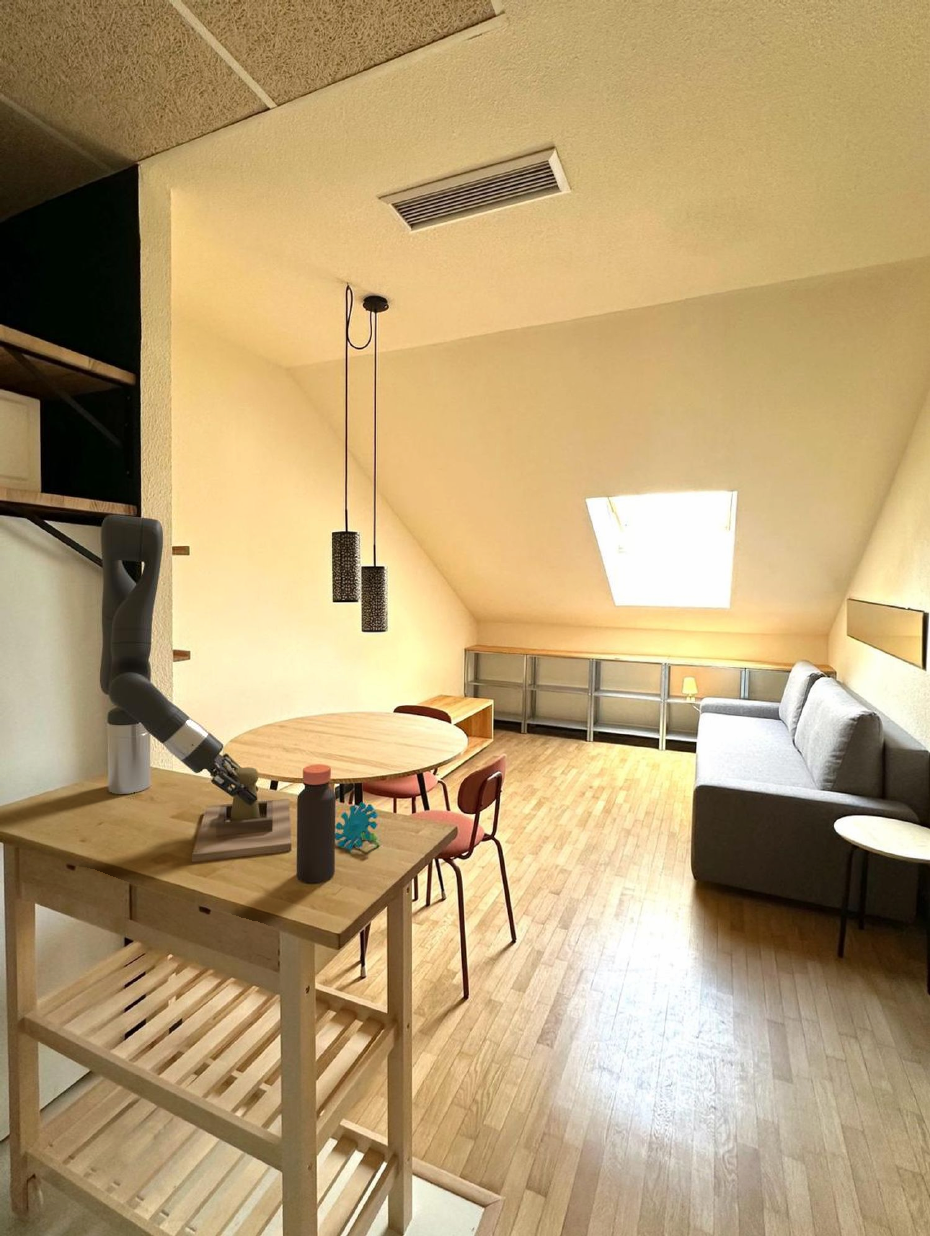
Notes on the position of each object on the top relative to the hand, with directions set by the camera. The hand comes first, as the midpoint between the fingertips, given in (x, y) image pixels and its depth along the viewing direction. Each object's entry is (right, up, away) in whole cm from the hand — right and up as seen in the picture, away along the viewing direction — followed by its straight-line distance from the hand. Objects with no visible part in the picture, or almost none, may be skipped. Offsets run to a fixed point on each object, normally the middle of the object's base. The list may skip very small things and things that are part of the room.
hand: (254, 796), depth 122 cm
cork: (-2, -5, 0) cm, 5 cm away
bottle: (+18, -9, -18) cm, 27 cm away
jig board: (-2, -7, 0) cm, 7 cm away
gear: (+23, -9, -5) cm, 25 cm away
